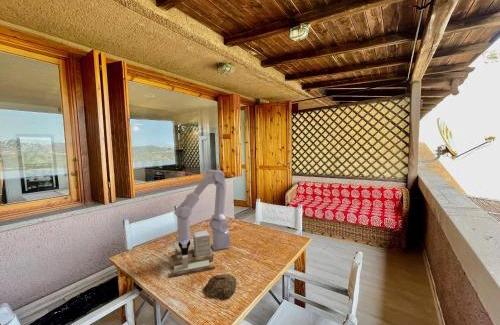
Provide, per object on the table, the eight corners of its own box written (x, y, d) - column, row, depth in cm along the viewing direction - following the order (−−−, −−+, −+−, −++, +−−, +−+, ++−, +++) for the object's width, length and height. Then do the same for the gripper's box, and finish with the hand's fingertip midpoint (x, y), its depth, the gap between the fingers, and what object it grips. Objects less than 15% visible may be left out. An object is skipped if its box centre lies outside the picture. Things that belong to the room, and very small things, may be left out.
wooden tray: (210, 250, 119) (210, 242, 118) (213, 259, 109) (213, 249, 109) (175, 256, 113) (175, 247, 113) (175, 266, 104) (175, 256, 103)
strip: (208, 262, 107) (208, 250, 106) (210, 267, 102) (209, 254, 101) (174, 268, 102) (173, 255, 101) (174, 274, 97) (173, 261, 97)
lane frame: (209, 250, 120) (209, 248, 119) (214, 268, 101) (214, 266, 101) (170, 256, 113) (170, 254, 113) (169, 277, 95) (169, 275, 95)
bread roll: (239, 280, 92) (238, 269, 91) (232, 301, 80) (231, 288, 79) (210, 278, 94) (209, 267, 94) (199, 298, 82) (198, 285, 81)
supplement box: (193, 255, 114) (192, 232, 113) (207, 252, 117) (206, 229, 116) (196, 262, 107) (195, 237, 107) (211, 258, 110) (210, 234, 110)
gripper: (175, 225, 114) (176, 250, 115) (174, 236, 101) (176, 264, 101) (189, 224, 116) (190, 248, 117) (190, 233, 103) (192, 261, 104)
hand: (185, 255), depth 110 cm, fingers closed
